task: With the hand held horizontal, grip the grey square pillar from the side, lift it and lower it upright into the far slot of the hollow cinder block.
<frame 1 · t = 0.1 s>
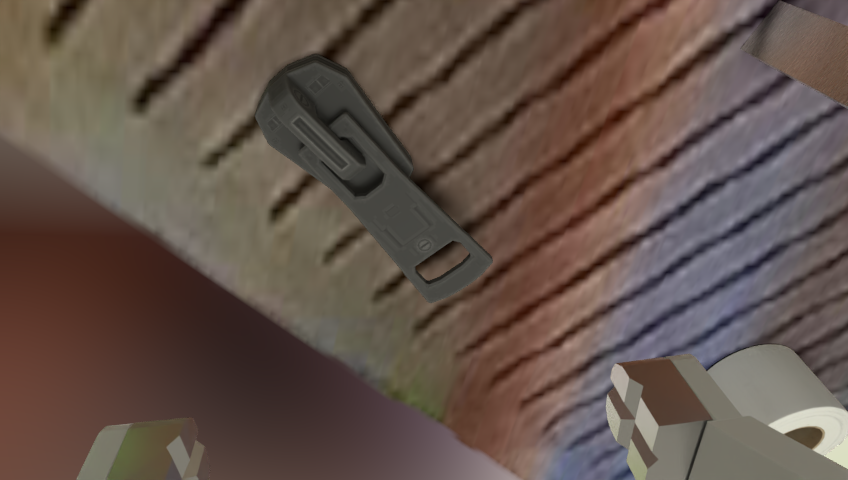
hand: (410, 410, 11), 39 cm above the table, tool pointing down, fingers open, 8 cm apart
toilet paper roll: (743, 378, 80), on the table
grey square pillar: (770, 32, 48), on the table
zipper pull: (377, 170, 52), on the table
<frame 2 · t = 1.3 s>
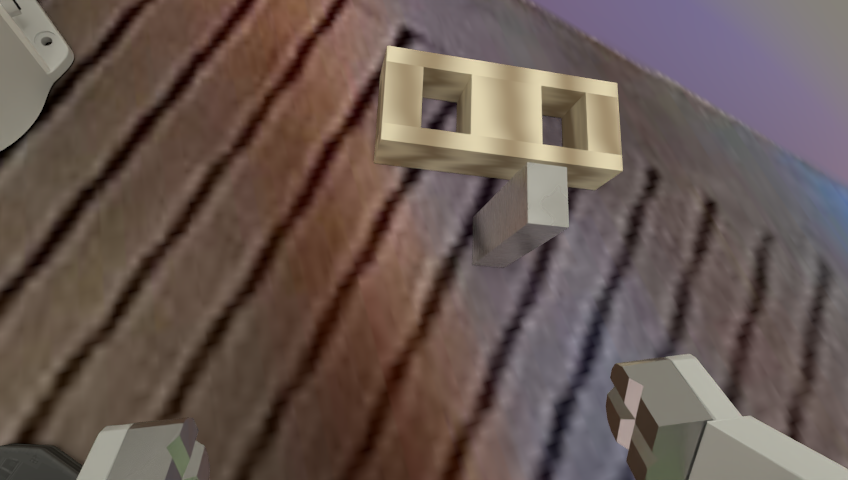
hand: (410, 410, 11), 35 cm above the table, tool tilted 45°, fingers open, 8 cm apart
grey square pillar: (488, 242, 50), on the table
hollow cinder block: (489, 134, 53), on the table
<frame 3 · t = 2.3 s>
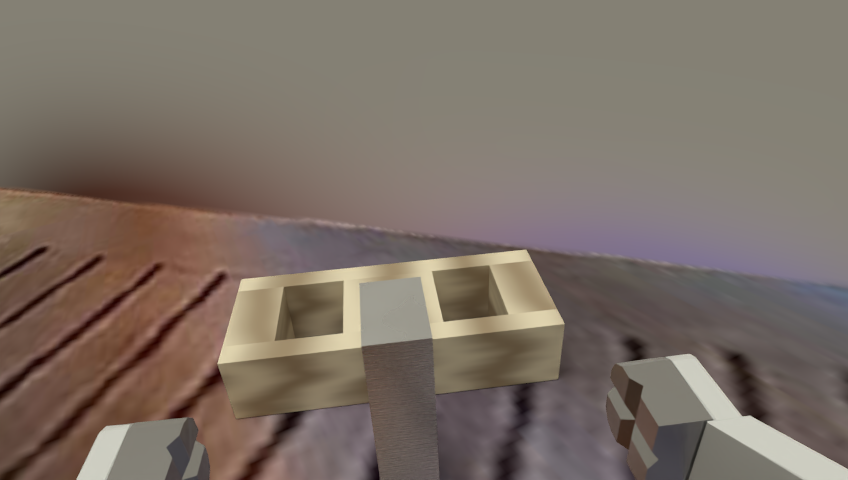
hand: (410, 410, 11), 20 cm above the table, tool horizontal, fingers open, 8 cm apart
hollow cinder block: (395, 352, 41), on the table
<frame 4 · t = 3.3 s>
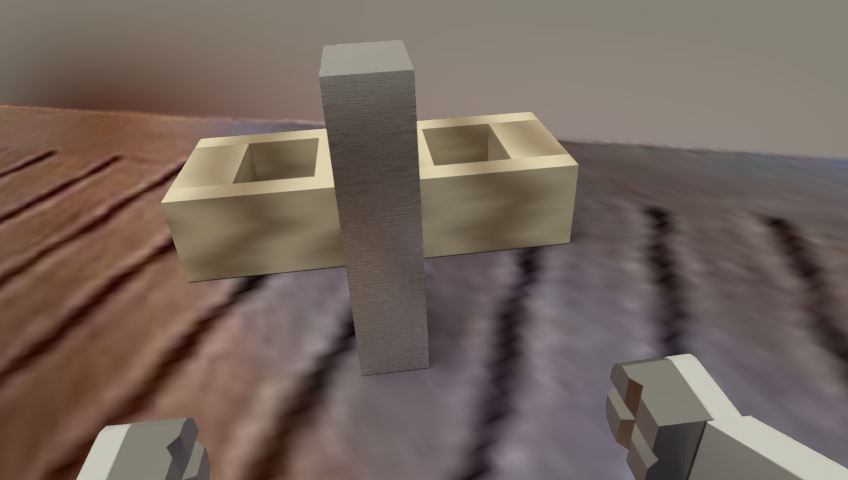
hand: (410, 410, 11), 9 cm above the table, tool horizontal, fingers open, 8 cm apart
grey square pillar: (392, 337, 26), on the table
hollow cinder block: (379, 223, 35), on the table
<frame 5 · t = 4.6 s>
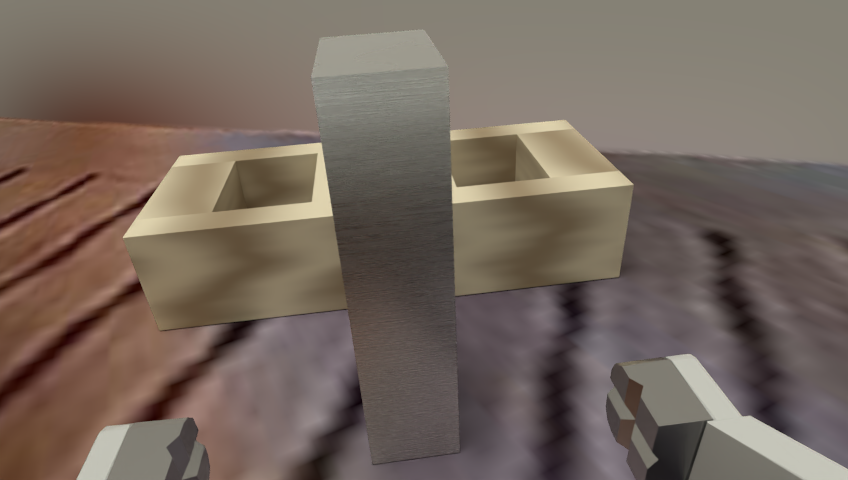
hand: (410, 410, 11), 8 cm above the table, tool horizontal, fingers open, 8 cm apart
grey square pillar: (409, 407, 21), on the table
hollow cinder block: (390, 253, 30), on the table
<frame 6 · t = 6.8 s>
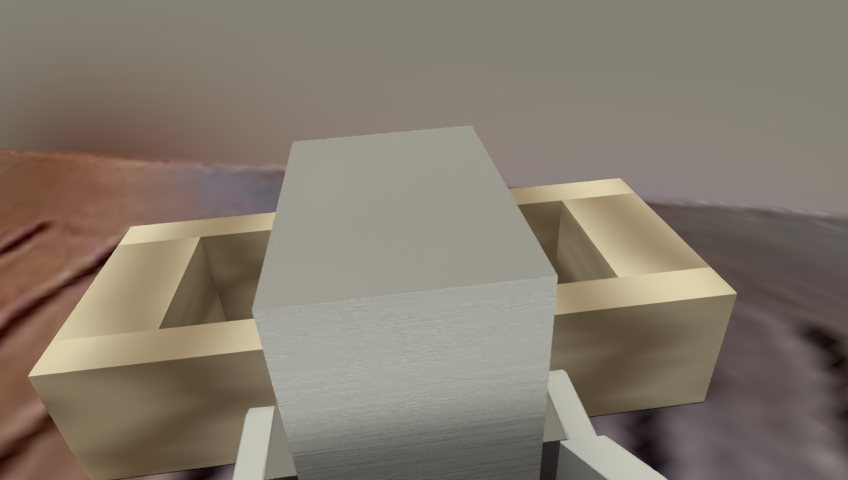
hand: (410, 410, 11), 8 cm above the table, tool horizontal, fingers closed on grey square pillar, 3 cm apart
hollow cinder block: (399, 353, 23), on the table
when the fingers open (10 cm above the table, at t = 11.2 s): grey square pillar drops 2 cm, resting in hollow cinder block.
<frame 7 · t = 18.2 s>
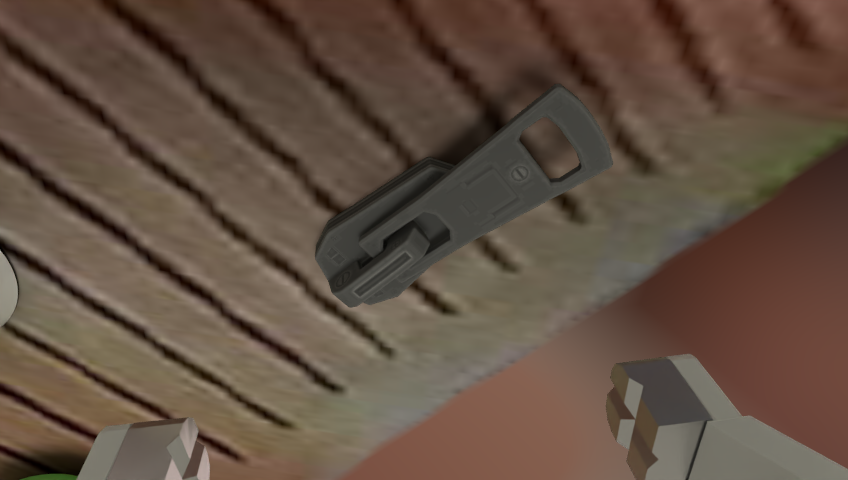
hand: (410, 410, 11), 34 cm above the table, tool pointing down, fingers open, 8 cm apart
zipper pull: (443, 189, 47), on the table
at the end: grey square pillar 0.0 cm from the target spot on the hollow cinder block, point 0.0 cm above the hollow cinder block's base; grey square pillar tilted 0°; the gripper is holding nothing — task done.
